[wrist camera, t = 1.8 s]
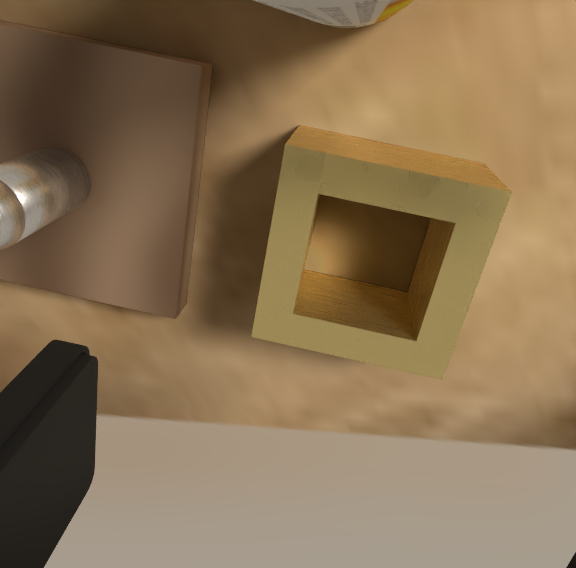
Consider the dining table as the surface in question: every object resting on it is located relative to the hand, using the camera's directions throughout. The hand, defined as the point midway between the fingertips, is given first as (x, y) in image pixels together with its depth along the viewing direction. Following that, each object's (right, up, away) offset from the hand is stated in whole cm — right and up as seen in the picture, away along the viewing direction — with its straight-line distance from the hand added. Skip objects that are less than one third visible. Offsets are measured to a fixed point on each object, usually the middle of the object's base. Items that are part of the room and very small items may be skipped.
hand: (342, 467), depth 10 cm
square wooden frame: (+2, +5, +12) cm, 13 cm away
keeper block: (-9, +8, +12) cm, 17 cm away
